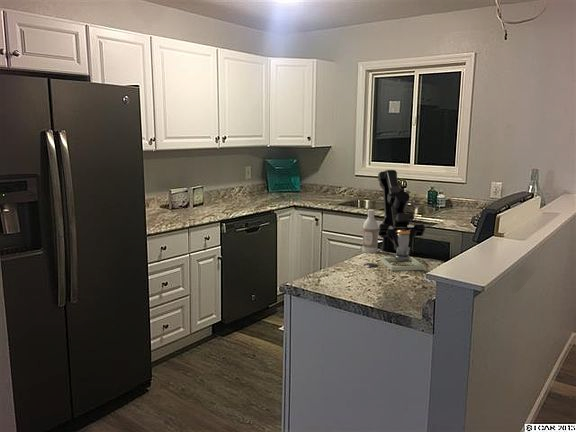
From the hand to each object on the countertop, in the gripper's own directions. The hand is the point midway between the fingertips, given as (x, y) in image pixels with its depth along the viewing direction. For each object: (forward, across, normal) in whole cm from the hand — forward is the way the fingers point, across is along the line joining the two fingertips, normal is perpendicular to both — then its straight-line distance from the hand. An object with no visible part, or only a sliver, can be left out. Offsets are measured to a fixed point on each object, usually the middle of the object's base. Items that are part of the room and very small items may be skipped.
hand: (403, 247), depth 191 cm
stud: (+6, -13, +7) cm, 16 cm away
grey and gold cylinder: (+3, 0, +5) cm, 6 cm away
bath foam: (-12, -10, +26) cm, 30 cm away
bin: (+6, 0, +7) cm, 9 cm away
